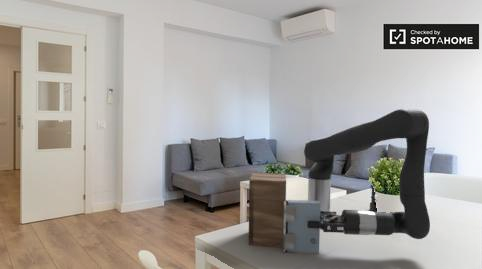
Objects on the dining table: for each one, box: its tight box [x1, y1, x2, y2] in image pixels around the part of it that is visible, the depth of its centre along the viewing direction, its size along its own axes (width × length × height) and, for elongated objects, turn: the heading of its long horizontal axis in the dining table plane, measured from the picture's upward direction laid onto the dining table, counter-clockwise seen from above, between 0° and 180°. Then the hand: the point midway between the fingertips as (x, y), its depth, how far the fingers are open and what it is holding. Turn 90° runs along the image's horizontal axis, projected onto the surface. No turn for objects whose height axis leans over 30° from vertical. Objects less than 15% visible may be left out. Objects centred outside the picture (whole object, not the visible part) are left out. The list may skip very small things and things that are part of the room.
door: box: [286, 199, 321, 254], centre depth 108 cm, size 4×10×16 cm, turn 84°
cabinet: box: [248, 172, 295, 252], centre depth 116 cm, size 19×15×22 cm
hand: (306, 220), depth 108 cm, fingers open, 8 cm apart
